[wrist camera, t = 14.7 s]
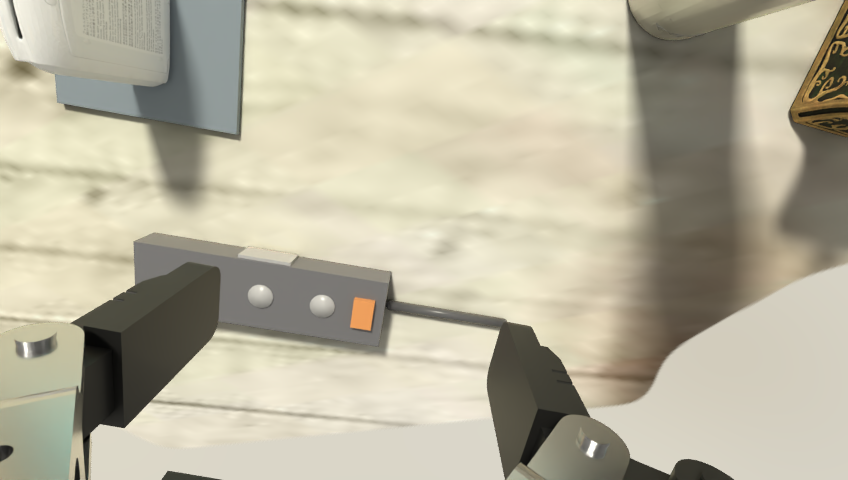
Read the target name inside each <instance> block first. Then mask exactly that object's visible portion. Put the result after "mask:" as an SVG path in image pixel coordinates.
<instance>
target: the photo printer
mask: <svg viewBox="0 0 848 480" xmlns="http://www.w3.org/2000/svg"><path fill="white" fill-rule="evenodd" d="M0 28H1V31H2V34H3V36H4V38H5V41H6V43H7V45H8V47H9V49H10V51H11V53H12V55H13V57H14V59H15V60H17V61H25V62H29V63H30V64H32V65H33V66H35V67H37V68H39V69H41V70H43V71H46V72H49V73H52V74H57V75H64V76H71V77H79V78H87V79H94V80H102V81H109V82H117V83H125V84H132V85H140V86H149V87H154V86H158V85H161V84H163V83H166V82H167V80H168V75H169V67H170V0H0Z"/></svg>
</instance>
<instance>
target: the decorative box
mask: <svg viewBox="0 0 848 480" xmlns="http://www.w3.org/2000/svg"><path fill="white" fill-rule="evenodd" d="M790 111H791V114H792V118H793V121H794V122H796V123H799V124H803V125H806V126H810V127H813V128H817V129H820V130H823V131H827V132H830V133H834V134H837V135H841V136H844V137H848V0H845V2H844V4H843V6H842V8H841V10H840V12H839V14H838V16H837V18H836V20H835V22H834V24H833V26H832V28H831V30H830V32H829V34H828V36H827V38H826V40H825V42H824V44H823V46H822V48H821V50H820V52H819V54H818V56H817V58H816V60H815V62H814V64H813V66H812V68H811V70H810V72H809V74H808V76H807V78H806V80H805V82H804V84H803V86H802V88H801V90H800V91H799V93H798V95H797V97H796V99H795V101H794V103H793V105H792V107H791V110H790Z"/></svg>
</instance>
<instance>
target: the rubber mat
mask: <svg viewBox="0 0 848 480" xmlns="http://www.w3.org/2000/svg"><path fill="white" fill-rule="evenodd" d="M244 5H245V0H170V67H169V75H168V80H167V82H166V83H163V84H161V85H158V86H154V87H149V86H140V85H132V84H125V83H117V82H109V81H102V80H94V79H87V78H79V77H71V76H64V75H57V74H55V81H56V93H57V103H62V104H68V105H74V106H79V107H85V108H90V109H96V110H102V111H107V112H113V113H118V114H124V115H130V116H135V117H141V118H147V119H152V120H158V121H163V122H169V123H175V124H180V125H186V126H191V127H197V128H203V129H208V130H214V131H219V132H225V133H231V134H239V128H240V104H241V79H242V54H243V30H244Z"/></svg>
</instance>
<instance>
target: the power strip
mask: <svg viewBox="0 0 848 480" xmlns="http://www.w3.org/2000/svg"><path fill="white" fill-rule="evenodd" d="M186 262H194V263H199V264H205V265H210V266H215V267H218V268H219V270H220V273H221V282H220V302H219V319H218V322H225V323H231V324H237V325H244V326H250V327H257V328H263V329H269V330H276V331H282V332H288V333H295V334H301V335H308V336H314V337H320V338H327V339H333V340H339V341H346V342H352V343H359V344H365V345H371V346H379V341H380V336H381V331H382V325H383V319H384V313H385V307H386V308H387V309H388V310H393V311H399V312H405V313H411V314H417V315H424V316H430V317H436V318H442V319H448V320H455V321H461V322H467V323H473V324H479V325H486V326H492V327H498V328H501V326H502V324H503V323H504V322H507V320H505V319H502V318H496V317H490V316H484V315H478V314H472V313H466V312H459V311H453V310H447V309H441V308H435V307H429V306H422V305H416V304H410V303H404V302H398V301H392V300H390V301H388V302H387V303H386V301H387V295H388V288H389V282H390V276H391V272H389V271H383V270H377V269H371V268H365V267H359V266H353V265H347V264H341V263H335V262H329V261H323V260H317V259H311V258H305V257H299V256H298V255H297V254H291V253H285V252H278V251H272V250H266V249H260V248H254V247H247V248H244V247H238V246H232V245H226V244H220V243H214V242H208V241H202V240H196V239H190V238H184V237H178V236H172V235H166V234H160V233H152V234H150V235H148V236H145V237H143V238H141V239H138V240H136V241H134V265H135V285H137V284H138V283H140V282H142V281H145V280H148V279H151V278H155V277H158V276H161V275H167V274H168V273H170V272H171V271H173V270H175V269H176V268H178V267H180V266H181V265H183V264H184V263H186Z"/></svg>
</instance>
